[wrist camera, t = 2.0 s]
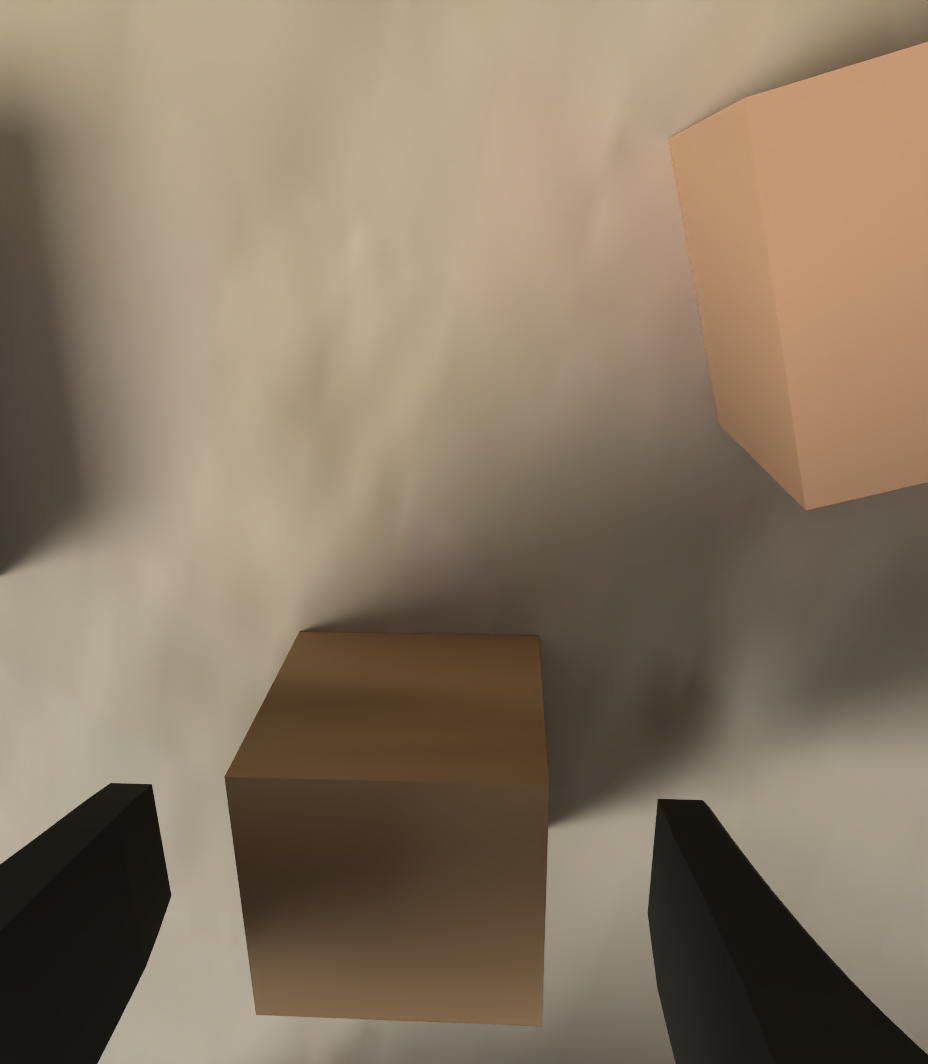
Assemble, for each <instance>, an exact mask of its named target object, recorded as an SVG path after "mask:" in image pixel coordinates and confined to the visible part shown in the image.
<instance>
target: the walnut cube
mask: <svg viewBox="0 0 928 1064" xmlns="http://www.w3.org/2000/svg"><path fill="white" fill-rule="evenodd" d="M225 783H226V791H227V799H228V806H229V814H230V821H231V829H232V836H233V844H234V851H235V859H236V867H237V874H238V882H239V889H240V897H241V904H242V912H243V919H244V927H245V935H246V942H247V950H248V957H249V965H250V972H251V980H252V987H253V995H254V1002H255V1010H256V1015H276V1016H301V1017H326V1018H351V1019H376V1020H401V1021H427V1022H452V1023H477V1024H502V1025H527V1026H542V1007H543V974H544V941H545V908H546V875H547V842H548V810H549V774H548V760H547V745H546V731H545V716H544V702H543V687H542V673H541V658H540V644H539V635H486V634H425V633H365V632H304V631H300V632H299V634H298V636H297V638H296V640H295V642H294V644H293V646H292V648H291V649H290V651H289V653H288V655H287V657H286V659H285V661H284V663H283V665H282V667H281V669H280V671H279V673H278V675H277V677H276V679H275V680H274V682H273V684H272V686H271V688H270V690H269V692H268V694H267V696H266V698H265V700H264V702H263V704H262V706H261V708H260V709H259V711H258V713H257V715H256V717H255V719H254V721H253V723H252V725H251V727H250V729H249V731H248V733H247V735H246V737H245V738H244V740H243V742H242V744H241V746H240V748H239V750H238V752H237V754H236V756H235V758H234V760H233V762H232V764H231V766H230V767H229V769H228V771H227V773H226V775H225Z"/></svg>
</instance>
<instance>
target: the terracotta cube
mask: <svg viewBox="0 0 928 1064" xmlns="http://www.w3.org/2000/svg"><path fill="white" fill-rule="evenodd" d="M668 143H669V149H670V154H671V160H672V165H673V171H674V177H675V182H676V188H677V193H678V199H679V205H680V210H681V216H682V221H683V227H684V233H685V238H686V244H687V250H688V255H689V261H690V266H691V272H692V278H693V283H694V289H695V294H696V300H697V306H698V311H699V317H700V322H701V328H702V334H703V339H704V345H705V350H706V356H707V362H708V367H709V373H710V379H711V384H712V390H713V395H714V401H715V407H716V412H717V418H718V423H719V425H720V426H721V427H722V428H723V429H724V430H725V431H726V432H727V433H728V434H729V435H730V436H731V437H732V438H733V439H734V440H735V441H736V442H737V443H738V444H739V445H740V446H741V447H742V448H743V449H744V450H745V451H746V452H747V453H748V454H749V455H750V456H751V457H752V458H753V459H754V460H755V461H756V462H757V463H758V464H759V465H760V466H761V467H762V468H763V469H764V470H765V471H766V472H767V473H768V474H769V475H770V476H771V477H772V478H773V479H774V480H775V481H776V482H777V483H778V484H779V485H780V486H781V487H782V488H783V489H784V490H785V491H786V492H787V493H788V494H789V495H791V496H792V497H793V498H794V499H795V500H796V501H797V502H798V503H799V504H800V505H801V506H802V507H803V508H804V509H805V510H811V509H815V508H819V507H824V506H828V505H832V504H836V503H841V502H845V501H849V500H854V499H858V498H862V497H867V496H871V495H875V494H880V493H884V492H888V491H892V490H897V489H901V488H905V487H910V486H914V485H918V484H923V483H927V482H928V42H925V43H922V44H919V45H915V46H912V47H909V48H906V49H902V50H899V51H896V52H893V53H889V54H886V55H883V56H879V57H876V58H873V59H870V60H866V61H863V62H860V63H857V64H853V65H850V66H847V67H843V68H840V69H837V70H834V71H830V72H827V73H824V74H821V75H817V76H814V77H811V78H807V79H804V80H801V81H798V82H794V83H791V84H788V85H785V86H781V87H778V88H775V89H771V90H768V91H765V92H762V93H758V94H755V95H752V96H749V97H745V98H743V99H741V100H739V101H738V102H736V103H734V104H732V105H730V106H728V107H726V108H725V109H723V110H721V111H719V112H717V113H715V114H713V115H711V116H710V117H708V118H706V119H704V120H702V121H700V122H698V123H697V124H695V125H693V126H691V127H689V128H687V129H685V130H683V131H682V132H680V133H678V134H676V135H674V136H672V137H670V138H668Z"/></svg>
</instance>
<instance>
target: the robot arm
mask: <svg viewBox="0 0 928 1064" xmlns="http://www.w3.org/2000/svg"><path fill="white" fill-rule="evenodd" d="M170 898H171V892H170V886H169V880H168V874H167V869H166V863H165V857H164V852H163V846H162V840H161V834H160V829H159V823H158V817H157V812H156V806H155V800H154V794H153V789H152V784H121V783H110V784H109V785H107V786H106V787H105V788H103V789H102V790H100V791H99V792H97V793H96V794H94V795H93V796H92V797H90V798H89V799H87V800H86V801H85V802H83V803H82V804H81V805H79V806H78V807H77V808H75V809H74V810H73V811H71V812H70V813H69V814H67V815H66V816H65V817H63V818H62V819H61V820H59V821H58V822H57V823H55V824H54V825H53V826H51V827H50V828H49V829H47V830H46V831H45V832H43V833H42V834H41V835H39V836H38V837H37V838H35V839H34V840H33V841H31V842H30V843H29V844H27V845H26V846H25V847H23V848H22V849H21V850H19V851H18V852H17V853H15V854H14V855H13V856H11V857H10V858H8V859H7V860H6V861H4V862H3V863H2V864H0V1064H97V1063H98V1061H99V1059H100V1057H101V1055H102V1053H103V1051H104V1049H105V1047H106V1046H107V1044H108V1042H109V1040H110V1038H111V1036H112V1034H113V1032H114V1030H115V1028H116V1026H117V1024H118V1022H119V1020H120V1018H121V1016H122V1014H123V1012H124V1010H125V1008H126V1006H127V1004H128V1002H129V1000H130V998H131V996H132V994H133V992H134V990H135V988H136V986H137V984H138V982H139V979H140V977H141V975H142V973H143V971H144V969H145V967H146V965H147V962H148V959H149V957H150V954H151V951H152V949H153V946H154V943H155V941H156V938H157V935H158V933H159V930H160V927H161V924H162V921H163V918H164V915H165V912H166V909H167V907H168V904H169V901H170ZM648 919H649V927H650V935H651V943H652V950H653V958H654V965H655V972H656V980H657V987H658V992H659V996H660V1000H661V1004H662V1009H663V1013H664V1017H665V1021H666V1025H667V1030H668V1034H669V1038H670V1042H671V1046H672V1050H673V1054H674V1059H675V1063H676V1064H928V1055H927V1054H926V1053H925V1052H924V1051H923V1050H922V1049H921V1048H920V1047H918V1046H917V1045H916V1044H915V1043H914V1042H913V1041H912V1040H911V1039H910V1038H909V1037H908V1036H907V1035H906V1034H905V1033H904V1032H903V1031H902V1030H900V1029H899V1028H898V1027H897V1026H896V1025H895V1024H894V1023H893V1022H892V1021H891V1020H890V1019H889V1018H888V1017H887V1016H886V1015H885V1014H884V1013H883V1012H882V1011H881V1010H880V1009H879V1008H878V1007H877V1006H876V1005H875V1004H874V1003H873V1002H872V1001H871V1000H870V999H869V998H868V997H867V996H866V995H865V994H864V993H863V992H862V991H861V990H860V989H859V988H858V987H857V986H856V985H855V984H854V983H853V982H852V981H851V980H850V979H849V978H848V977H847V975H846V974H845V973H844V972H843V971H842V970H841V969H840V968H839V967H838V966H837V965H836V964H835V963H834V961H833V960H832V959H831V958H830V957H829V956H828V955H827V954H826V953H825V952H824V951H823V950H822V948H821V947H820V946H819V945H818V944H817V943H816V942H815V940H814V939H813V938H812V937H811V936H810V935H809V934H808V933H807V931H806V930H805V929H804V928H803V927H802V926H801V924H800V923H799V922H798V921H797V920H796V918H795V917H794V916H793V915H792V914H791V912H790V911H789V910H788V909H787V908H786V906H785V905H784V904H783V903H782V902H781V901H780V899H779V898H778V897H777V896H776V895H775V893H774V892H773V891H772V890H771V888H770V887H769V886H768V885H767V883H766V882H765V881H764V880H763V878H762V877H761V876H760V875H759V873H758V872H757V871H756V870H755V868H754V867H753V866H752V864H751V863H750V862H749V860H748V859H747V858H746V857H745V855H744V854H743V853H742V851H741V850H740V849H739V847H738V846H737V845H736V843H735V842H734V841H733V839H732V838H731V837H730V835H729V834H728V832H727V831H726V830H725V828H724V827H723V826H722V824H721V823H720V821H719V820H718V819H717V817H716V816H715V814H714V813H713V812H712V810H711V809H710V808H709V806H708V805H707V804H706V803H705V802H704V801H703V800H676V799H658V803H657V815H656V826H655V837H654V849H653V860H652V871H651V883H650V894H649V906H648Z"/></svg>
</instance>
